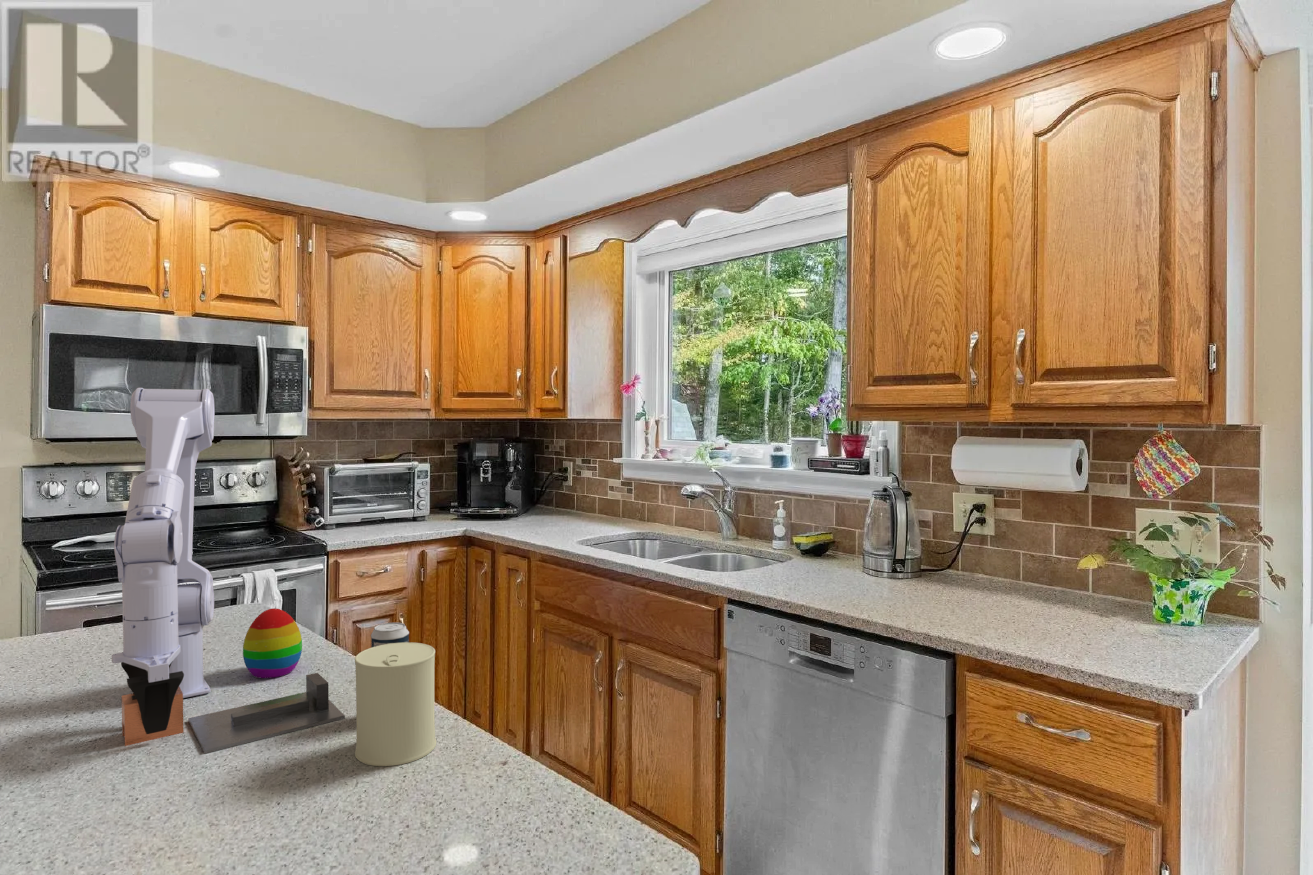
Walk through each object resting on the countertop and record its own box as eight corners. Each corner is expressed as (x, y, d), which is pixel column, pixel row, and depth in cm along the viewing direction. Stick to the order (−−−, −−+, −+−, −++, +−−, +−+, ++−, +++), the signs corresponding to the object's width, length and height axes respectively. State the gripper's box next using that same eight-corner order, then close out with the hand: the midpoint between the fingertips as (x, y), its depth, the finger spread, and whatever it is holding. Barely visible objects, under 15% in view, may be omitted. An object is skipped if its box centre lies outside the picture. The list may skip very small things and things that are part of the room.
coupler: (188, 721, 97) (187, 690, 97) (318, 692, 107) (317, 664, 107) (204, 753, 88) (203, 720, 87) (344, 718, 98) (344, 688, 98)
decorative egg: (314, 666, 118) (313, 604, 118) (275, 684, 110) (275, 617, 110) (270, 661, 120) (270, 600, 120) (230, 679, 112) (229, 613, 112)
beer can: (363, 718, 98) (362, 628, 97) (391, 706, 102) (391, 619, 102) (389, 726, 95) (388, 633, 95) (417, 712, 100) (416, 624, 99)
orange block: (122, 735, 93) (121, 694, 92) (178, 722, 96) (178, 683, 96) (125, 746, 90) (124, 704, 89) (183, 732, 93) (182, 692, 93)
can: (350, 771, 83) (349, 665, 83) (359, 736, 92) (359, 641, 92) (435, 761, 86) (434, 658, 86) (437, 728, 95) (436, 635, 94)
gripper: (106, 608, 96) (108, 712, 96) (116, 634, 84) (118, 751, 85) (171, 599, 100) (173, 699, 100) (188, 623, 89) (190, 734, 89)
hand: (152, 722), depth 93 cm, fingers open, 6 cm apart
